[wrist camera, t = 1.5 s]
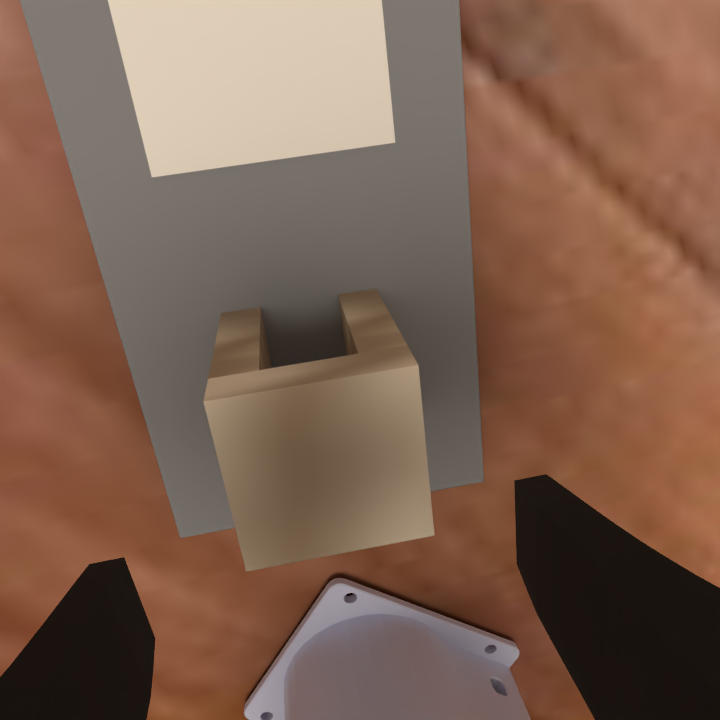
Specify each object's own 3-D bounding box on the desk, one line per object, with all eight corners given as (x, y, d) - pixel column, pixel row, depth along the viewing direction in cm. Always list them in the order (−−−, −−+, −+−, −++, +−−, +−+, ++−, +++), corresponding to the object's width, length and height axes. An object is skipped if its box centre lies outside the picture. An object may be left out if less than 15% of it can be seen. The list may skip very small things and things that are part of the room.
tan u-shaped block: (376, 288, 20) (418, 364, 14) (391, 422, 22) (434, 535, 16) (221, 313, 19) (203, 401, 14) (251, 447, 21) (246, 571, 16)
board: (475, 466, 24) (485, 484, 23) (184, 520, 23) (179, 541, 22) (437, -202, 16) (449, -224, 15) (-14, -157, 15) (-36, -176, 14)
